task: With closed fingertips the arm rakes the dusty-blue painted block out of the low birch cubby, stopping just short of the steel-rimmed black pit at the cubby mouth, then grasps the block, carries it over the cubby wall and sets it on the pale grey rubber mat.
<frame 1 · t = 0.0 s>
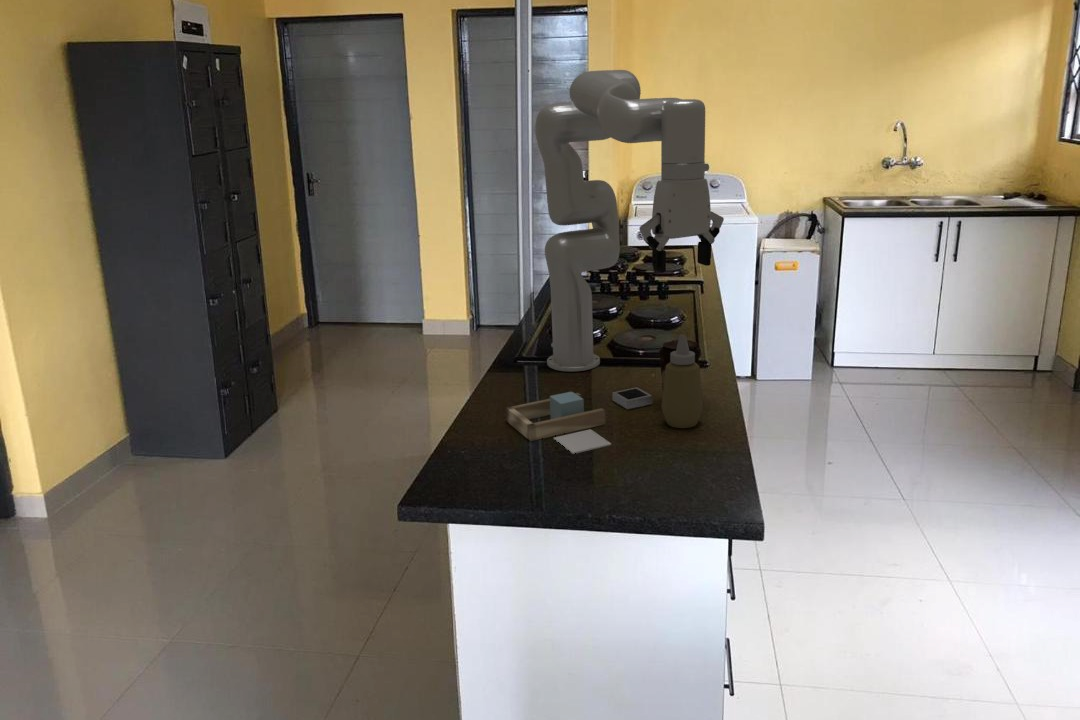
hand: (681, 267, 158), 31 cm above the worktop, fingers open, 9 cm apart
coffee cup: (679, 404, 179), on the worktop
pit: (632, 403, 181), on the worktop
squeeze bottle: (681, 424, 169), on the worktop
blue block: (567, 421, 173), on the worktop
cubby: (558, 422, 172), on the worktop
mat: (582, 442, 162), on the worktop
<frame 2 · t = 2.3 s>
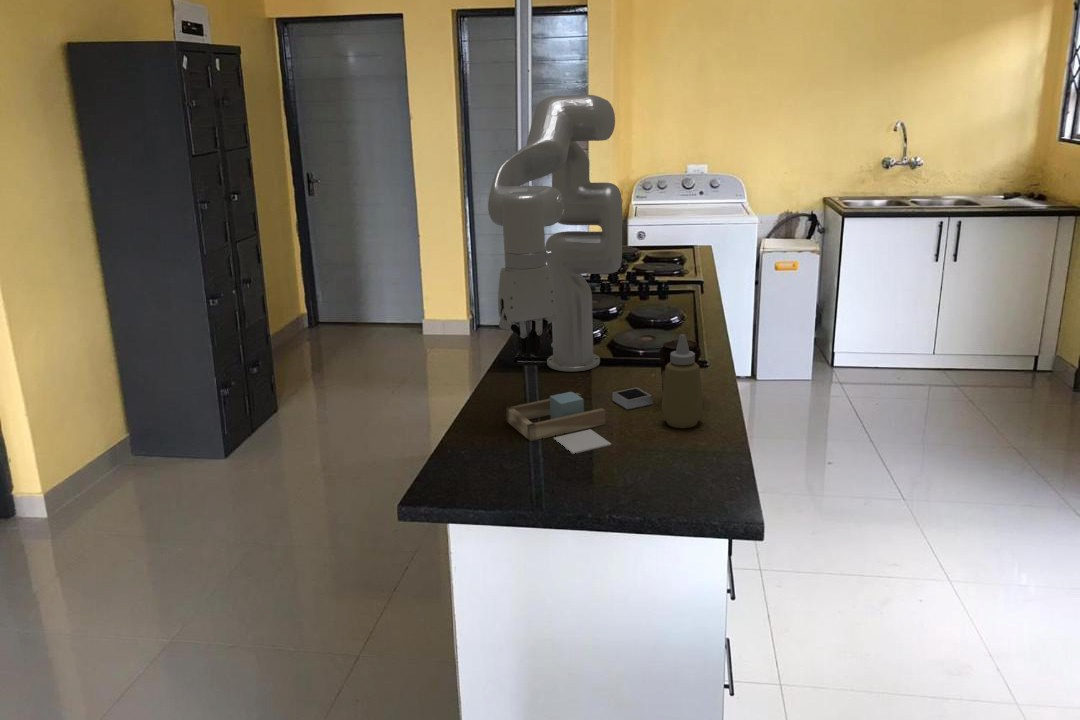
hand: (529, 354, 165), 15 cm above the worktop, fingers closed
nothing on the worktop moved.
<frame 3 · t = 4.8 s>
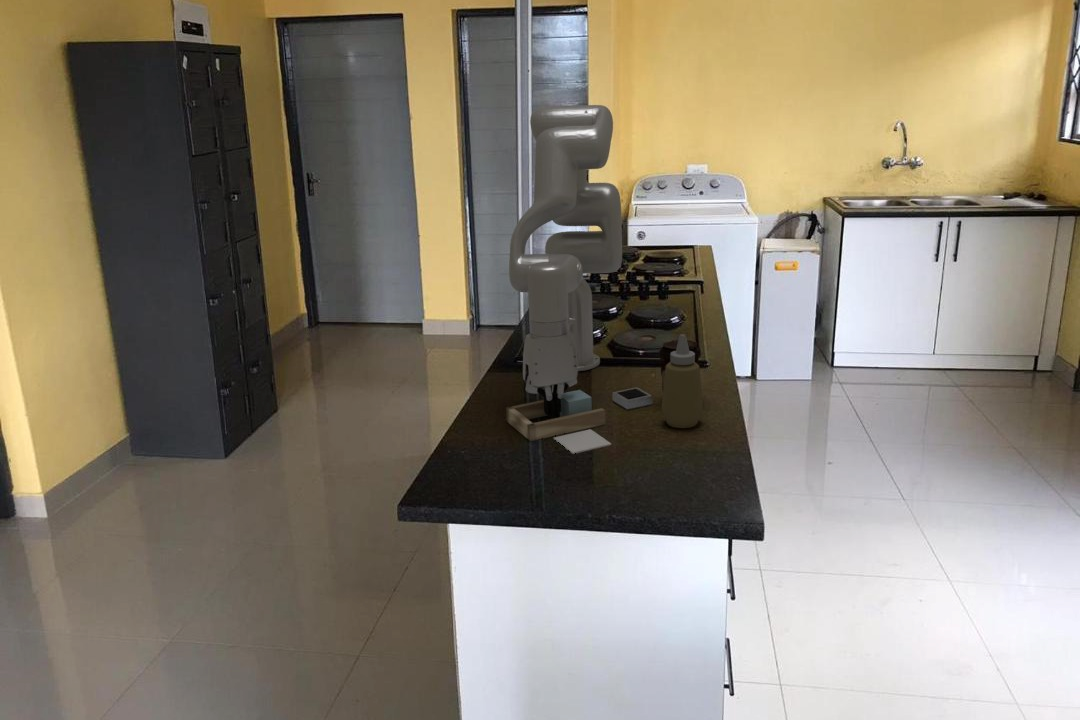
hand: (552, 416, 171), 2 cm above the worktop, fingers closed
blue block: (575, 419, 173), on the worktop, touching gripper
everything else where it was.
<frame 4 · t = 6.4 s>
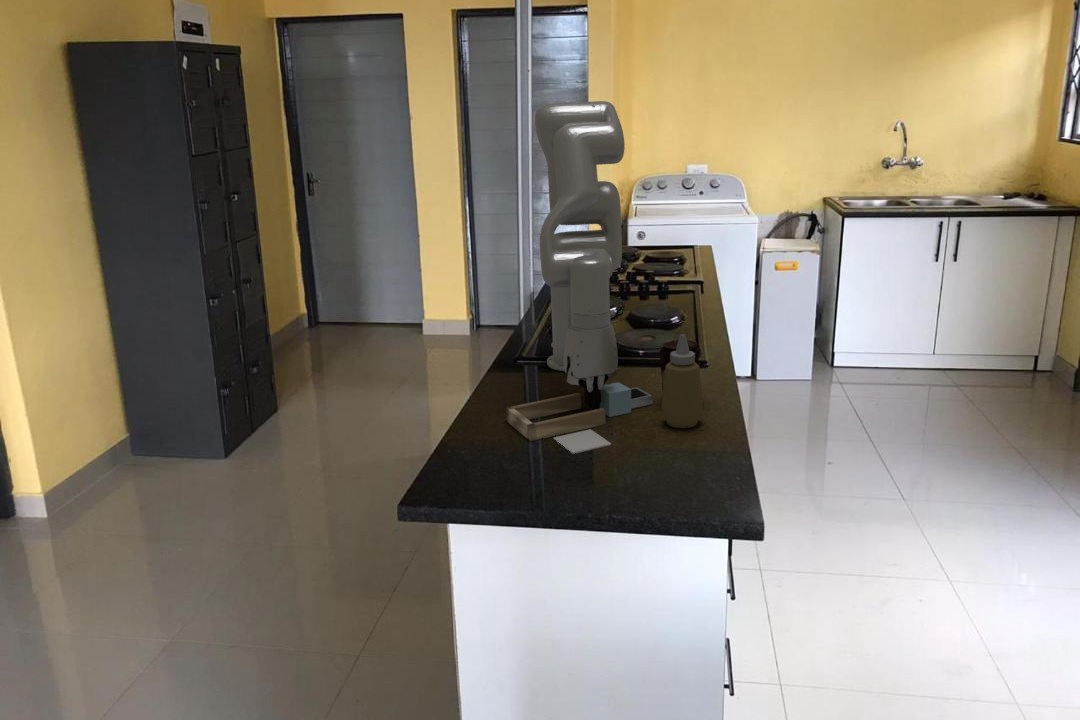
hand: (592, 407, 174), 2 cm above the worktop, fingers closed
blue block: (614, 410, 177), on the worktop, touching gripper, pit
everything else where it was.
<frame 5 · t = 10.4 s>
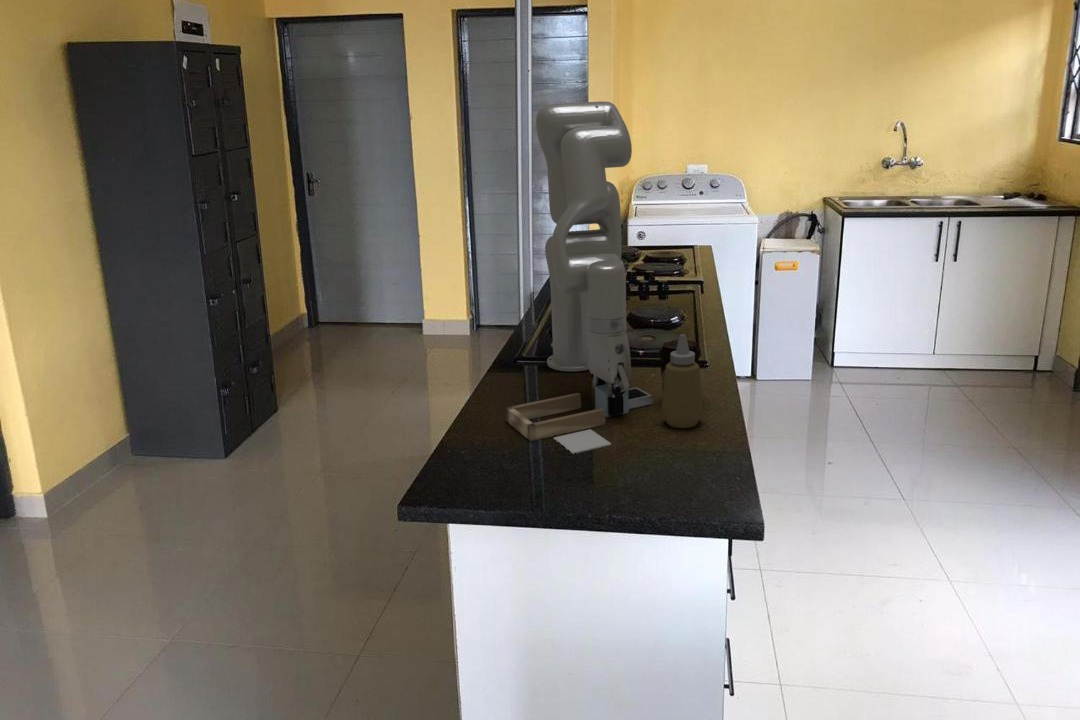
hand: (608, 409, 176), 0 cm above the worktop, fingers closed on blue block, 5 cm apart
blue block: (611, 411, 177), on the worktop, touching gripper
everything else where it was.
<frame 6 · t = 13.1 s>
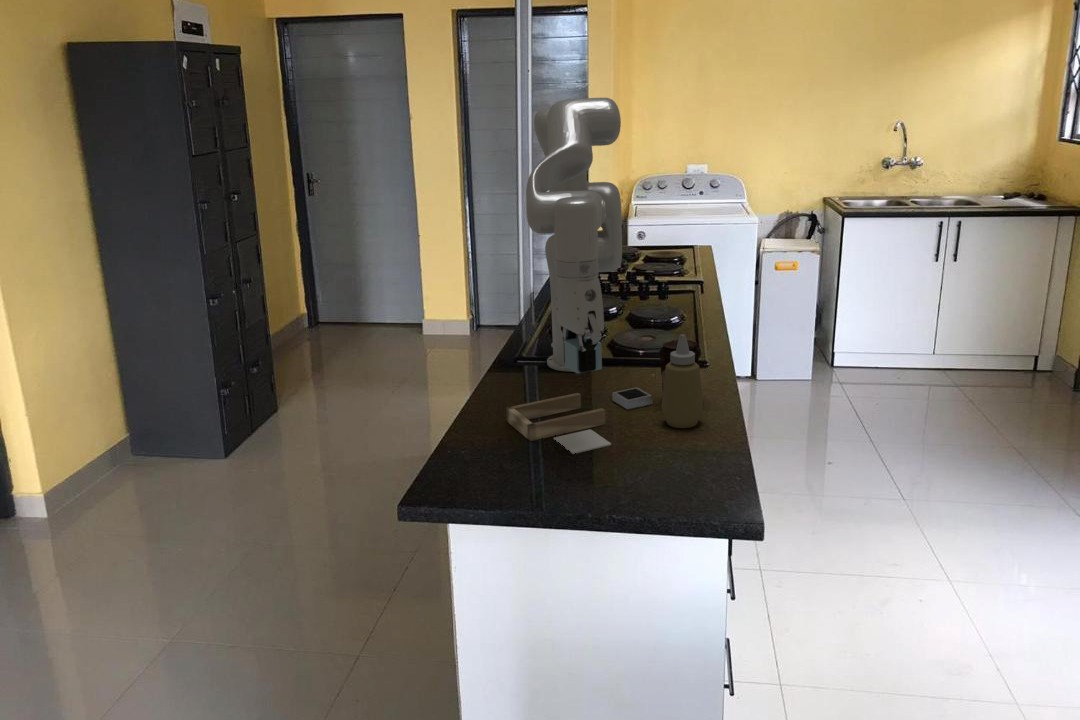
hand: (579, 365, 158), 15 cm above the worktop, fingers closed on blue block, 5 cm apart
blue block: (583, 367, 158), point 15 cm above the worktop, touching gripper
everything else where it was.
when the fingers open (2 cm above the worktop, at t = 15.7 s): blue block drops 1 cm, resting on mat.
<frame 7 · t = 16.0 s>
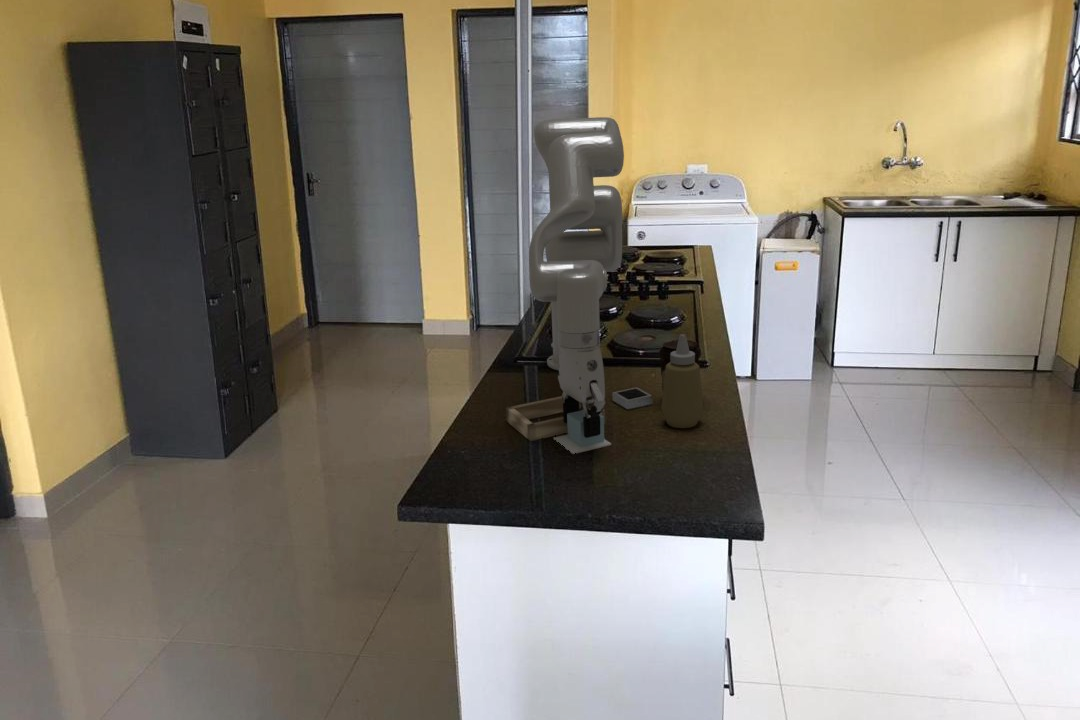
hand: (581, 427, 162), 3 cm above the worktop, fingers open, 7 cm apart
blue block: (585, 439, 163), resting on mat
everything else where it was.
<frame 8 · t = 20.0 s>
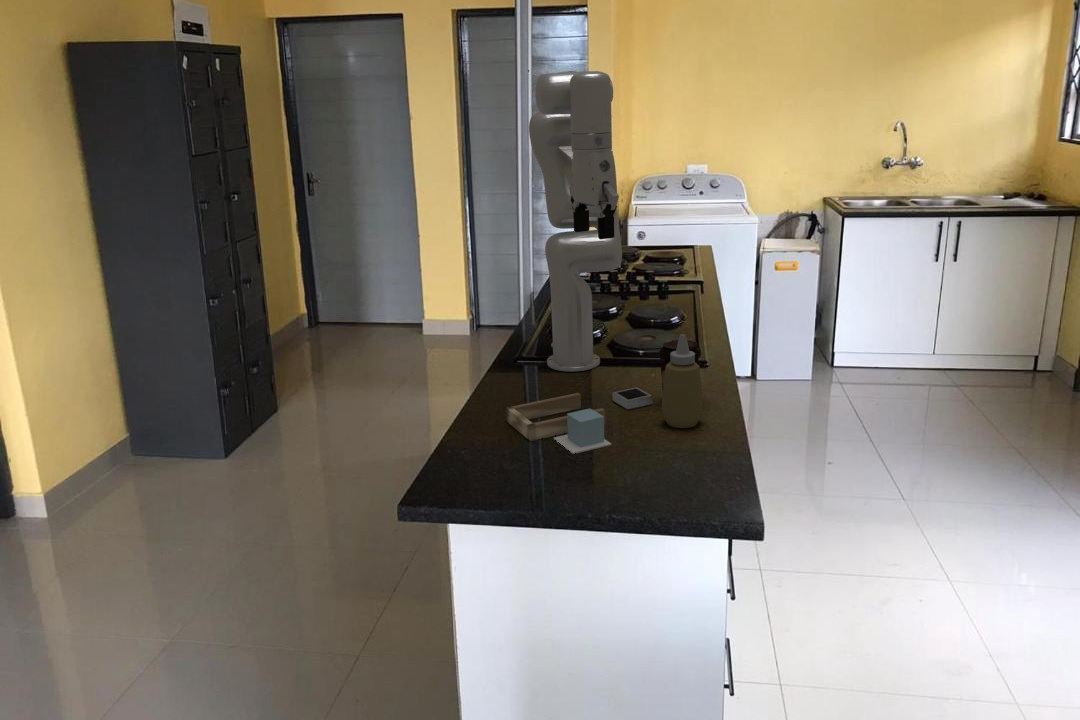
hand: (593, 234, 165), 36 cm above the worktop, fingers open, 9 cm apart
nothing on the worktop moved.
at the end: blue block inside the target area on the mat (0.8 cm from its centre), point 0.3 cm above the mat's base; blue block tilted 0°; the gripper is holding nothing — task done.
